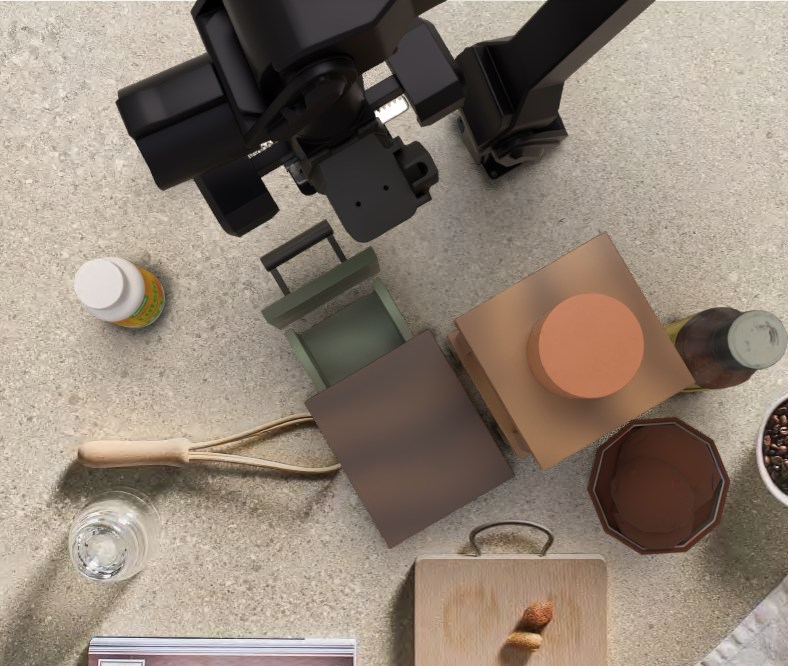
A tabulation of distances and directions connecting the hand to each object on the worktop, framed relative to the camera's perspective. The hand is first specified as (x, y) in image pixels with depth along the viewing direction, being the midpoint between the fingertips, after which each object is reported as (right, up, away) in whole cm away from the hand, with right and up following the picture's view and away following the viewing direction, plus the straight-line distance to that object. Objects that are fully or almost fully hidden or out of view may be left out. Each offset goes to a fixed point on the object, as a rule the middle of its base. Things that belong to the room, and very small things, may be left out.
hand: (337, 162), depth 67 cm
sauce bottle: (+29, -14, +12) cm, 35 cm away
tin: (+16, -15, -12) cm, 25 cm away
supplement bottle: (-19, -9, +12) cm, 24 cm away
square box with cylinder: (+16, -15, +12) cm, 25 cm away
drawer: (0, -12, +11) cm, 16 cm away
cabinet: (+6, -21, +12) cm, 25 cm away
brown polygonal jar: (+25, -25, +11) cm, 37 cm away
